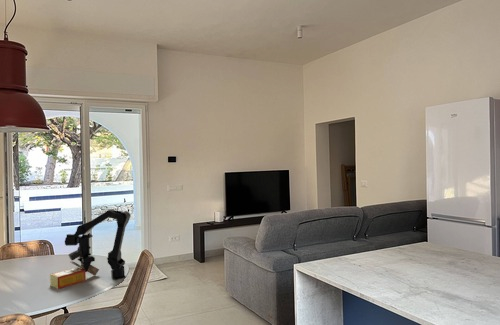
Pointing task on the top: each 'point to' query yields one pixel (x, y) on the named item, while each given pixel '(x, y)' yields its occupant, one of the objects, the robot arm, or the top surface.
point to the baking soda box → (67, 277)
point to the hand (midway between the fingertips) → (85, 271)
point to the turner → (91, 268)
